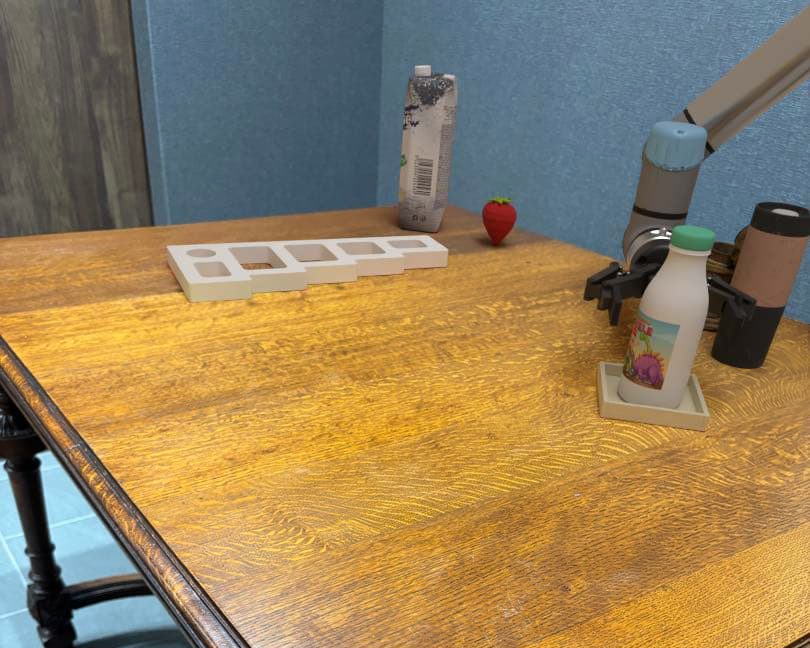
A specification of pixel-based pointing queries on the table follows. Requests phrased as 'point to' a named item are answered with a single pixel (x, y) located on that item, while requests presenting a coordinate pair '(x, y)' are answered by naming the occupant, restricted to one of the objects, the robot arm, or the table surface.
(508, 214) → the strawberry
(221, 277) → the holder
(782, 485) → the table surface
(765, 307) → the travel mug
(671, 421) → the cream tray
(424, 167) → the juice carton
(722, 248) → the wooden mug
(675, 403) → the milk bottle
